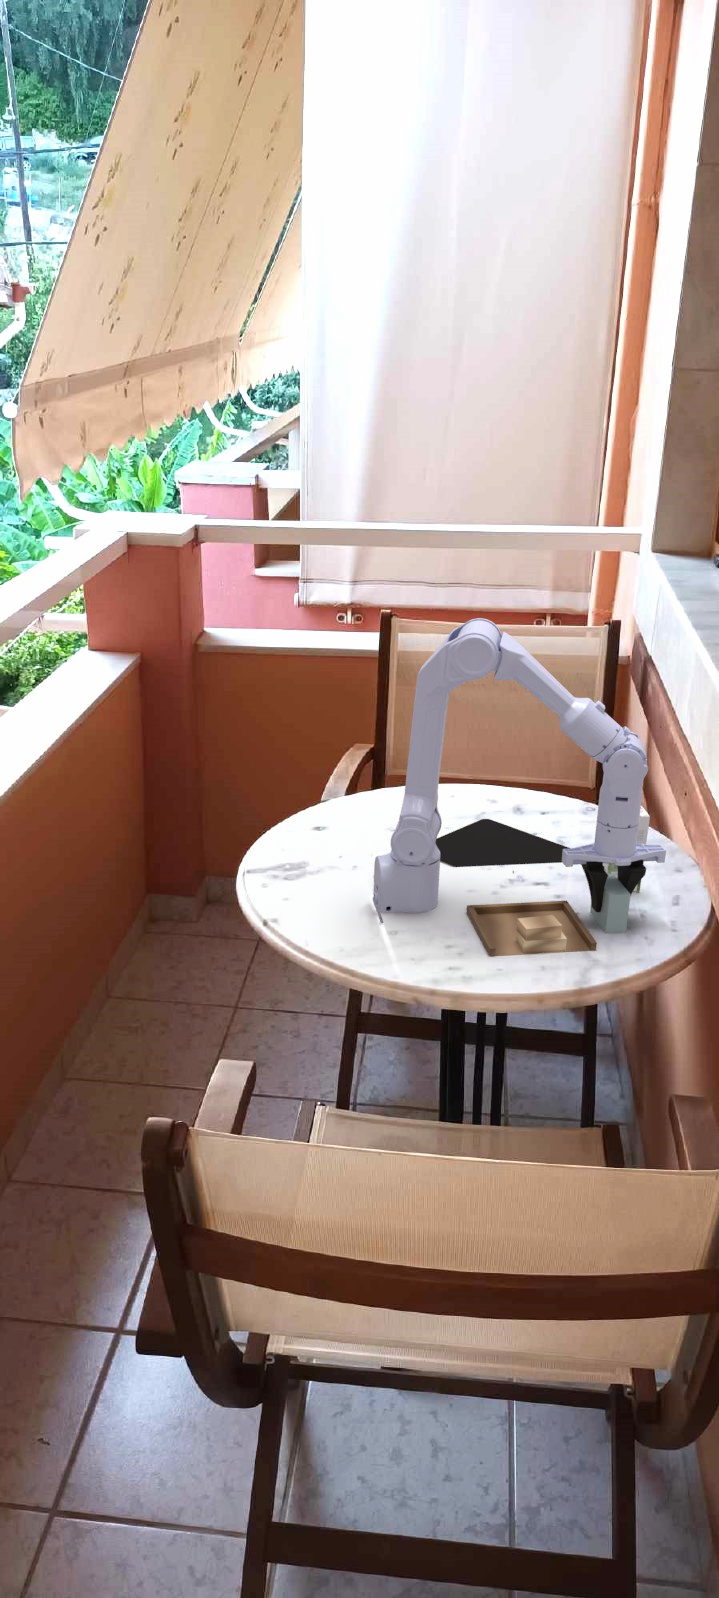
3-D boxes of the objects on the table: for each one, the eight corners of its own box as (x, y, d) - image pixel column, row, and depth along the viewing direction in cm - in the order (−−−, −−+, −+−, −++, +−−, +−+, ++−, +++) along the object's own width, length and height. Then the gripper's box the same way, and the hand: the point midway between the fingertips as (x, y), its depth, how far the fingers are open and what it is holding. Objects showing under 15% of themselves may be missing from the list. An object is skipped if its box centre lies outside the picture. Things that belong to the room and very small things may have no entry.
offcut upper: (525, 941, 154) (526, 929, 154) (516, 930, 157) (517, 918, 157) (561, 937, 156) (562, 925, 155) (551, 926, 159) (552, 914, 158)
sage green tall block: (604, 940, 161) (609, 895, 159) (589, 918, 167) (594, 875, 165) (625, 939, 162) (630, 894, 159) (609, 917, 168) (613, 874, 165)
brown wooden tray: (488, 965, 155) (489, 948, 154) (465, 921, 167) (467, 905, 166) (595, 959, 157) (596, 943, 156) (565, 916, 169) (566, 900, 168)
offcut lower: (522, 952, 155) (523, 940, 154) (516, 940, 158) (517, 929, 158) (565, 950, 156) (566, 938, 155) (557, 938, 159) (558, 926, 158)
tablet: (410, 848, 190) (484, 817, 203) (410, 852, 190) (484, 820, 204) (545, 903, 173) (616, 864, 186) (545, 907, 173) (616, 868, 187)
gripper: (576, 833, 154) (568, 923, 159) (679, 829, 156) (667, 918, 161) (560, 814, 161) (552, 901, 166) (658, 810, 163) (648, 896, 168)
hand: (607, 908), depth 164 cm, fingers closed on sage green tall block, 3 cm apart
